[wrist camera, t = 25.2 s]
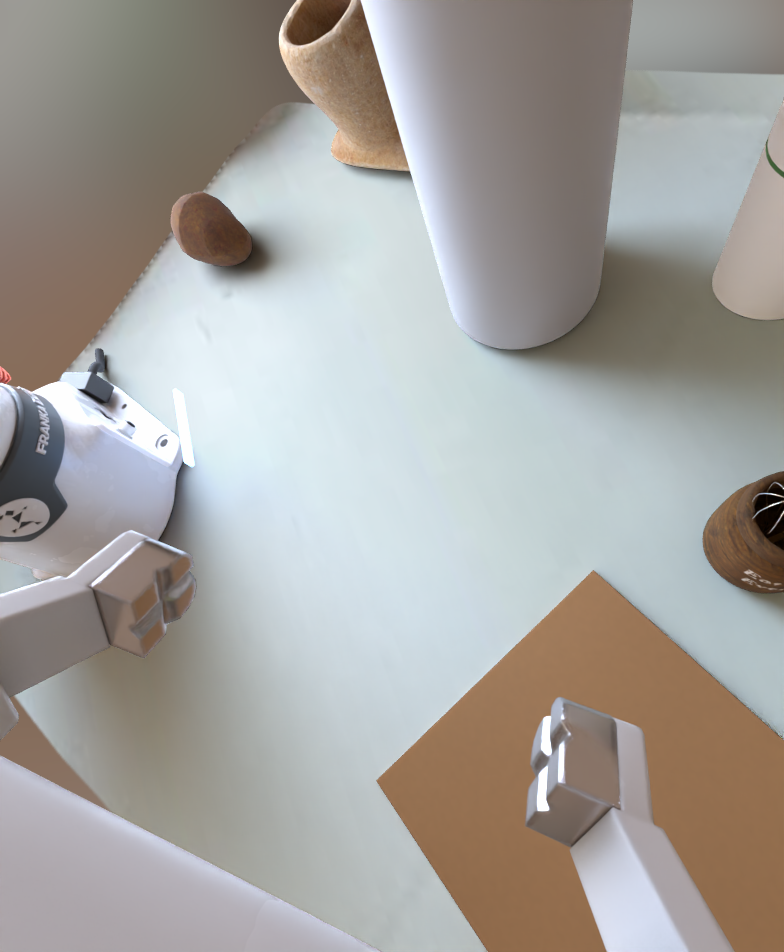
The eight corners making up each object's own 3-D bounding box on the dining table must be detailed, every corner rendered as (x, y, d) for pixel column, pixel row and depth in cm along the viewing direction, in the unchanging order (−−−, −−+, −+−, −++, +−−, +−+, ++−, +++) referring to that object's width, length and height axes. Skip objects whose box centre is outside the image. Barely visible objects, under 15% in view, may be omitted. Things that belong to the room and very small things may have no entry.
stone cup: (314, 181, 56) (240, 31, 43) (369, 108, 58) (314, -58, 45) (422, 205, 50) (374, 36, 37) (480, 121, 52) (454, -69, 38)
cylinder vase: (607, 232, 42) (665, -258, 20) (590, 357, 38) (637, -74, 16) (465, 240, 46) (383, -153, 24) (438, 351, 43) (312, 9, 21)
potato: (236, 288, 54) (195, 238, 48) (180, 264, 58) (136, 216, 52) (273, 240, 55) (237, 185, 49) (215, 221, 60) (176, 169, 53)
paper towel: (377, 780, 32) (376, 780, 32) (593, 570, 33) (593, 570, 33) (633, 1172, 23) (634, 1176, 23) (928, 870, 24) (931, 872, 23)
